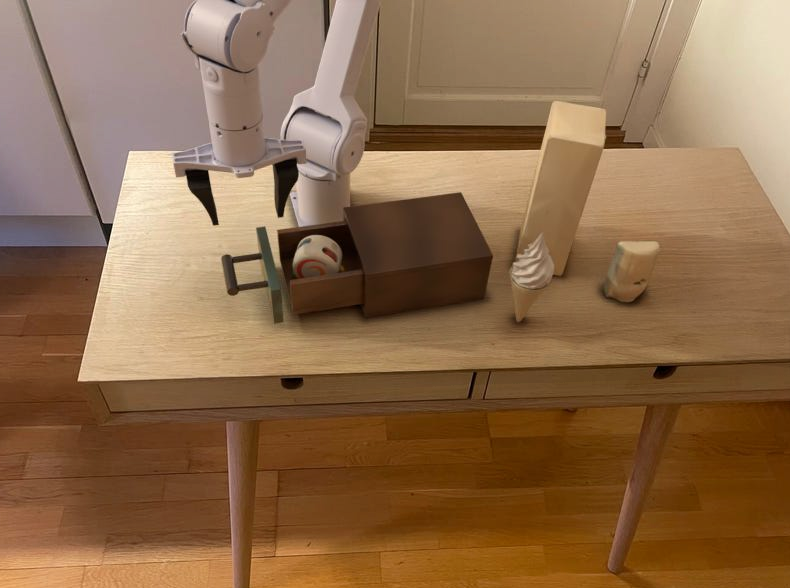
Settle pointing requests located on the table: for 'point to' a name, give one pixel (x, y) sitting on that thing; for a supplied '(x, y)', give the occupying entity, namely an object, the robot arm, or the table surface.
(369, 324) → the table surface
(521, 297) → the ice cream cone
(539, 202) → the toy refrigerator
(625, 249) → the cream stubby rounded block
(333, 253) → the roller toy
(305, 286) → the drawer
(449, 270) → the cabinet
